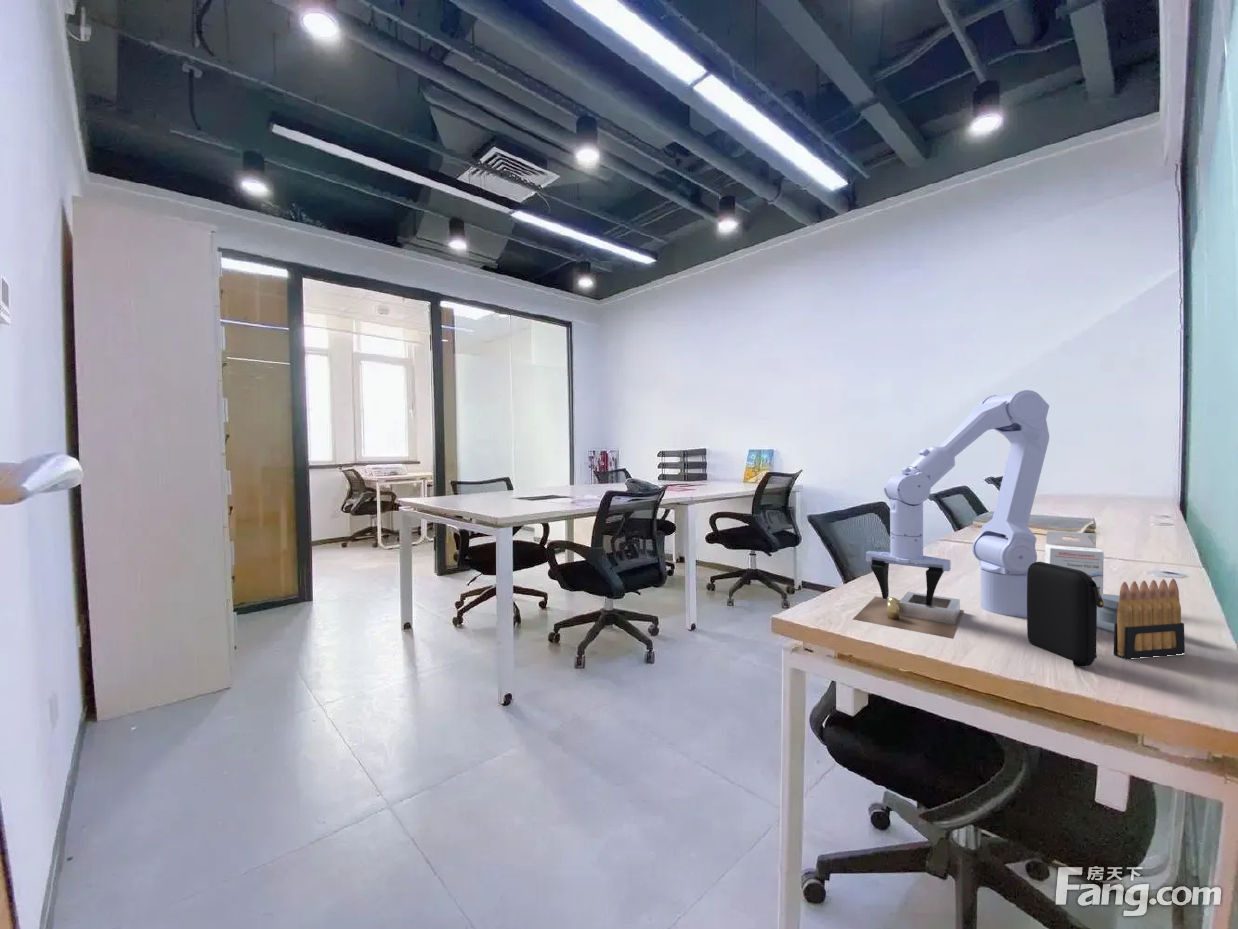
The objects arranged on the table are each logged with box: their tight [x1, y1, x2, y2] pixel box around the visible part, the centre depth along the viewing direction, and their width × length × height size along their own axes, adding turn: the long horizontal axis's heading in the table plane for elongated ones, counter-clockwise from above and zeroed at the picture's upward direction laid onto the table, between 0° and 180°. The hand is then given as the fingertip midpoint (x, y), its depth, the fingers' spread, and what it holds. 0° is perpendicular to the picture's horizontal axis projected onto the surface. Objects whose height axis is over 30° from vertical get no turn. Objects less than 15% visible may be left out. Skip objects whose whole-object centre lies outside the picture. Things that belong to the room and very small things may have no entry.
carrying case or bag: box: [1026, 561, 1104, 668], centre depth 76 cm, size 11×3×15 cm, turn 9°
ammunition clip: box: [1113, 578, 1186, 660], centre depth 77 cm, size 11×2×12 cm, turn 96°
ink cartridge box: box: [1044, 530, 1105, 607], centre depth 102 cm, size 9×5×15 cm, turn 58°
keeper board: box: [852, 595, 965, 639], centre depth 95 cm, size 16×18×1 cm
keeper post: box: [887, 597, 899, 620], centre depth 93 cm, size 2×2×4 cm
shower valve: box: [1097, 593, 1119, 635], centre depth 89 cm, size 12×6×15 cm
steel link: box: [899, 591, 961, 625], centre depth 95 cm, size 9×9×2 cm
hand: (906, 601), depth 97 cm, fingers open, 7 cm apart
